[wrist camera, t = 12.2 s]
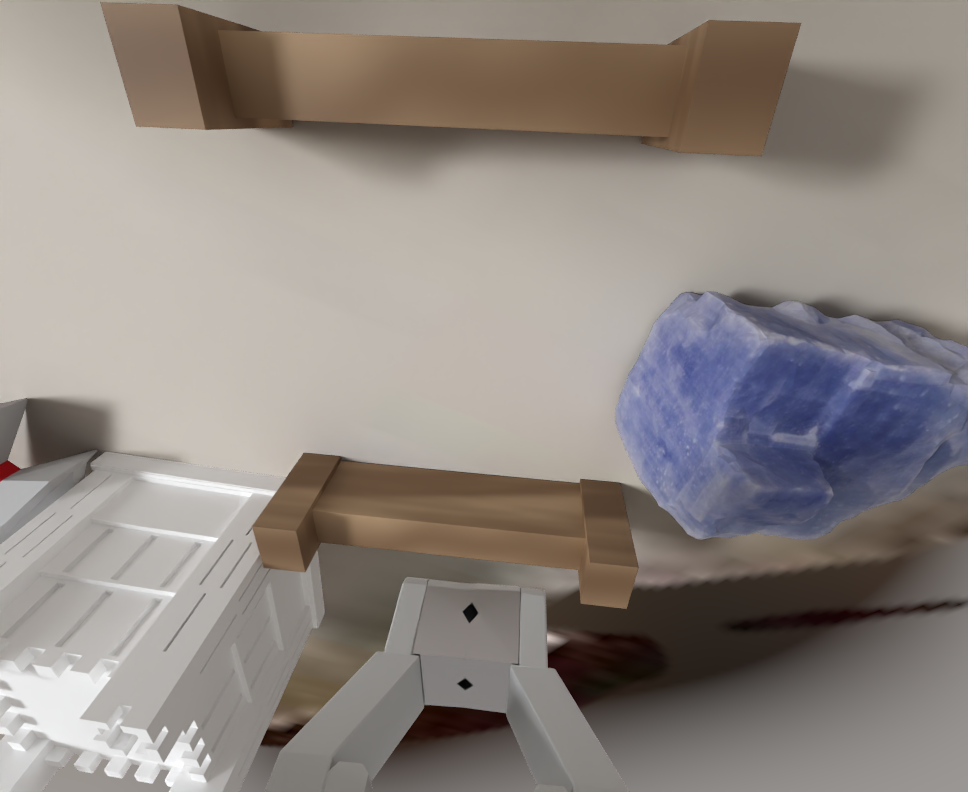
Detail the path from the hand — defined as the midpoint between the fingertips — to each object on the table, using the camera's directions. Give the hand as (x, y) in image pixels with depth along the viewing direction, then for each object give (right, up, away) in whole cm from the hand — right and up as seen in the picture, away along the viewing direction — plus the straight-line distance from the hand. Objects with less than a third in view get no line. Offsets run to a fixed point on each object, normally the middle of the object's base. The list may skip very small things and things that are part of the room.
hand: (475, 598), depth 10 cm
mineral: (+15, +5, +15) cm, 22 cm away
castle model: (-19, -6, +26) cm, 33 cm away
